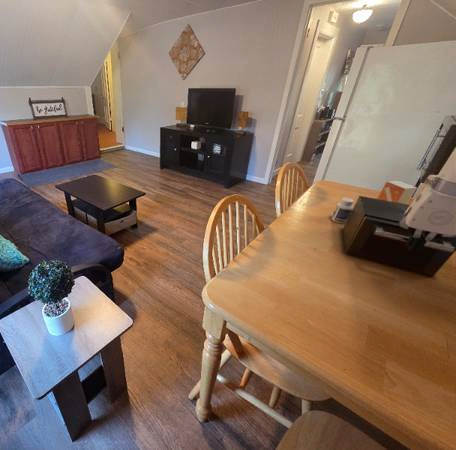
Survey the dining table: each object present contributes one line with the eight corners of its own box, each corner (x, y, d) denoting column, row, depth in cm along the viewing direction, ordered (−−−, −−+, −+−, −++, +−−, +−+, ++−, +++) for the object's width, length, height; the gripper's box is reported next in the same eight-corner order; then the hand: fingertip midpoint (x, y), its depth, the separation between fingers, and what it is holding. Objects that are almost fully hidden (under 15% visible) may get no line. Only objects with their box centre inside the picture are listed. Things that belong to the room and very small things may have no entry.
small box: (371, 207, 113) (386, 181, 106) (383, 206, 114) (398, 180, 107) (388, 216, 106) (405, 188, 99) (401, 214, 107) (418, 187, 100)
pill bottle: (349, 223, 101) (360, 202, 96) (337, 224, 100) (348, 203, 95) (339, 216, 105) (348, 196, 100) (328, 217, 105) (337, 197, 99)
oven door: (436, 287, 71) (472, 248, 63) (346, 262, 80) (367, 225, 72) (430, 274, 75) (463, 236, 67) (345, 251, 84) (365, 215, 76)
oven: (429, 274, 75) (462, 234, 67) (345, 251, 85) (364, 214, 77) (415, 247, 87) (441, 210, 79) (342, 230, 96) (359, 195, 88)
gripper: (417, 186, 59) (380, 247, 68) (509, 200, 52) (453, 265, 62) (409, 176, 64) (375, 234, 74) (491, 188, 58) (442, 249, 67)
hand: (411, 248), depth 68 cm, fingers closed
